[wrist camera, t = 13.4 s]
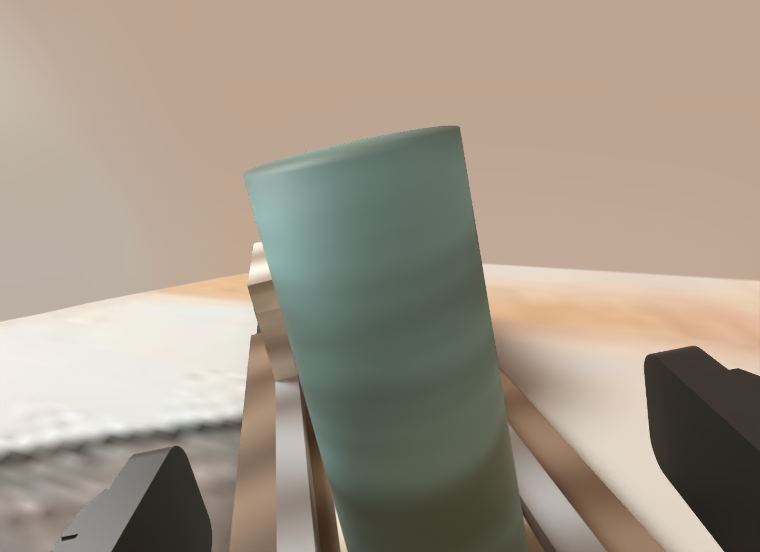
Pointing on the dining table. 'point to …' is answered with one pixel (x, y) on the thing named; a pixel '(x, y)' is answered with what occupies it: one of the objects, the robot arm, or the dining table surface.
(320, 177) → the block with teal grip
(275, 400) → the tunnel track
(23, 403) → the dining table surface
